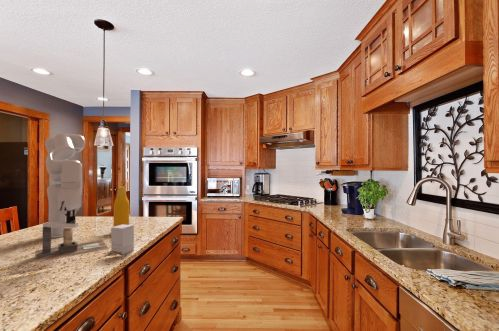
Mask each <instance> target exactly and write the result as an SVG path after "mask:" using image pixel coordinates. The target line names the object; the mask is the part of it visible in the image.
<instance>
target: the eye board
mask: <svg viewBox="0 0 499 331" xmlns="http://www.w3.org/2000/svg"><path fill="white" fill-rule="evenodd" d="M41 243H42V249H38V250H35V255H34V263H39V262H45V261H52V260H56V259H62V258H66V257H67V258H68V257H72V256H78V255H83V254H89V253H94V252H99V251H105V250H109V249H110V248H109V247H108V245H107V244H106V243H105V242H104V240H103V239H98V240H91V241H85V242H79V243H78V242H77V241H76V240H74V241H72V245H69V246H63V242H62V243H59V244H57V246H55V247H54V246H53V247H52V238H51V227H47V228H43V227H42V242H41Z"/></svg>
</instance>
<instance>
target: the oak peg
mask: <svg viewBox="0 0 499 331" xmlns="http://www.w3.org/2000/svg"><path fill="white" fill-rule="evenodd" d="M73 230H74V228H63V237H62V239H63V240H62V241H63V242H62V243H63V246H69V245H72V242H73V233H74V232H73Z"/></svg>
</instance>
